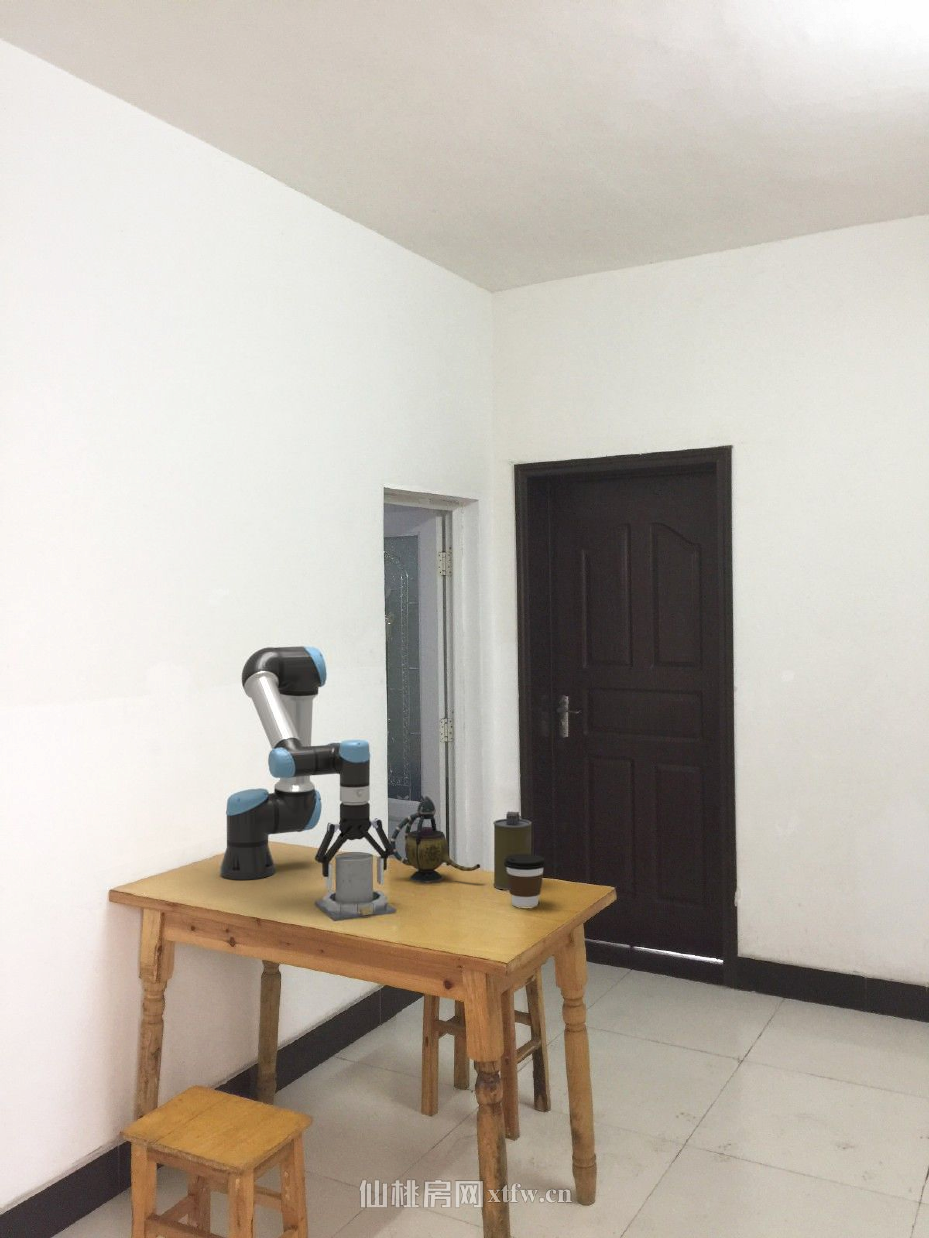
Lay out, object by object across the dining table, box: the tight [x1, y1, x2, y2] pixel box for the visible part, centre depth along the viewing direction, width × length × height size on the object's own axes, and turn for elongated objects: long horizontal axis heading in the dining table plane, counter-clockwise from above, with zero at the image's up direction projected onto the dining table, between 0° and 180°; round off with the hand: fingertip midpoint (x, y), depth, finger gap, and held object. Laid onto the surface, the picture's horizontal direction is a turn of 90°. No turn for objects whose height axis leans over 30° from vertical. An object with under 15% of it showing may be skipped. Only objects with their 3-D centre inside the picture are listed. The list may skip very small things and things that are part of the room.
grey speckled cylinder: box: [334, 851, 374, 904], centre depth 265 cm, size 10×10×12 cm
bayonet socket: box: [314, 888, 397, 922], centre depth 265 cm, size 18×16×3 cm
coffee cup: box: [504, 853, 547, 908], centre depth 267 cm, size 11×11×12 cm
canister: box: [493, 811, 533, 891], centre depth 286 cm, size 11×10×20 cm
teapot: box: [389, 795, 481, 884], centre depth 292 cm, size 12×25×23 cm, turn 66°
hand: (354, 886), depth 265 cm, fingers open, 13 cm apart
